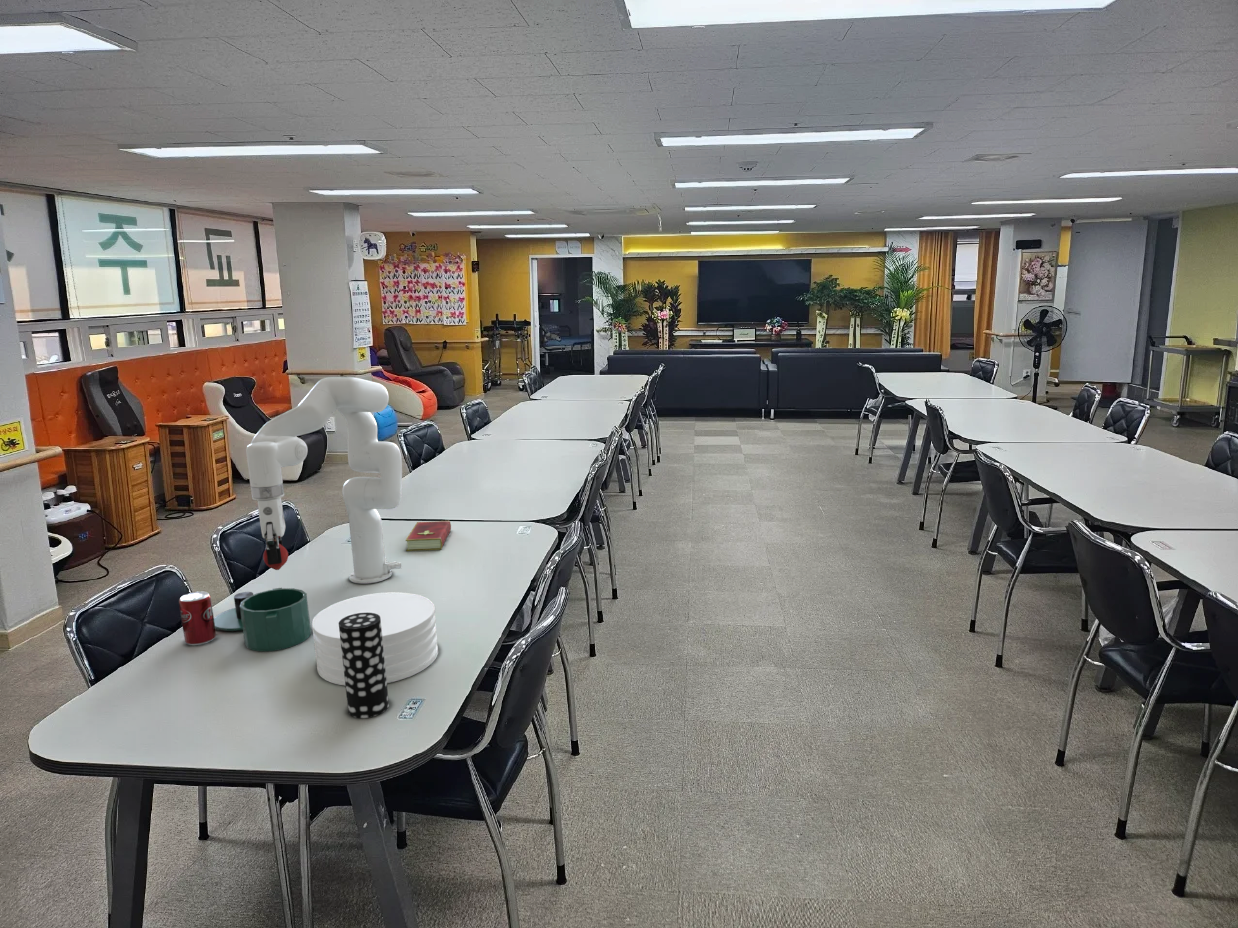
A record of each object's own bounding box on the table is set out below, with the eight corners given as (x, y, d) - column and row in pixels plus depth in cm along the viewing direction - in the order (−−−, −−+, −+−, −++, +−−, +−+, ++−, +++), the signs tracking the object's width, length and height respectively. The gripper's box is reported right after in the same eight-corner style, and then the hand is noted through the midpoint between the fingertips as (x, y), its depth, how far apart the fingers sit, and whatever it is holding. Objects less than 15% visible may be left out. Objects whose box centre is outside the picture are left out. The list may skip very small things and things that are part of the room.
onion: (280, 574, 207) (277, 544, 205) (260, 573, 208) (256, 543, 206) (294, 566, 212) (290, 537, 211) (274, 565, 214) (270, 536, 212)
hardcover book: (451, 531, 298) (450, 519, 297) (442, 549, 278) (441, 537, 277) (418, 532, 298) (417, 521, 297) (406, 551, 277) (405, 539, 276)
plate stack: (373, 697, 179) (369, 648, 177) (291, 668, 194) (286, 623, 191) (462, 648, 202) (458, 604, 200) (382, 625, 217) (378, 585, 214)
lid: (282, 604, 234) (279, 580, 232) (277, 626, 218) (274, 601, 216) (217, 613, 229) (213, 588, 227) (208, 636, 213) (204, 610, 211)
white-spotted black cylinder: (353, 699, 179) (343, 613, 174) (392, 697, 179) (383, 611, 175) (344, 719, 170) (334, 629, 166) (384, 716, 171) (375, 627, 167)
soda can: (185, 648, 206) (178, 603, 204) (185, 638, 213) (178, 594, 210) (217, 642, 210) (210, 598, 207) (216, 632, 216) (209, 589, 213)
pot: (312, 618, 223) (307, 581, 221) (309, 649, 204) (304, 610, 202) (250, 626, 219) (245, 589, 216) (240, 660, 199) (235, 619, 197)
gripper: (281, 497, 199) (289, 568, 203) (285, 482, 215) (293, 547, 219) (247, 501, 197) (256, 572, 200) (254, 485, 213) (263, 551, 217)
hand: (276, 558), depth 210 cm, fingers closed on onion, 5 cm apart
